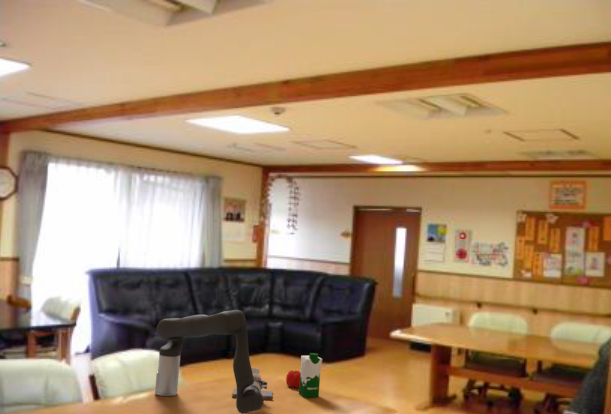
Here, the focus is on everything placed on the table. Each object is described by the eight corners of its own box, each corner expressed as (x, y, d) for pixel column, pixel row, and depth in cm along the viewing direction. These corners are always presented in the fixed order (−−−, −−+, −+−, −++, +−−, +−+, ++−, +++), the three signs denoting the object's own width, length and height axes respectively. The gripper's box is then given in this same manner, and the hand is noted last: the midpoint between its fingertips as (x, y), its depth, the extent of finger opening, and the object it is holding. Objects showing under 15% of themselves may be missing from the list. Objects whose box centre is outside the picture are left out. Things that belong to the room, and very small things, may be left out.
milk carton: (304, 398, 277) (307, 355, 278) (296, 393, 285) (299, 350, 286) (321, 397, 281) (324, 354, 281) (312, 392, 289) (315, 350, 289)
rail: (232, 397, 270) (232, 393, 270) (232, 396, 271) (232, 392, 271) (272, 400, 271) (272, 396, 271) (272, 399, 272) (272, 395, 272)
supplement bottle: (257, 397, 262) (259, 367, 268) (242, 397, 264) (245, 367, 269) (261, 400, 268) (263, 370, 274) (246, 399, 269) (249, 370, 275)
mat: (232, 395, 273) (232, 394, 273) (234, 389, 283) (234, 388, 283) (272, 398, 273) (272, 397, 274) (272, 392, 283) (272, 391, 283)
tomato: (284, 384, 300) (285, 369, 300) (301, 384, 302) (302, 369, 302) (287, 389, 291) (289, 373, 291) (305, 389, 293) (307, 374, 293)
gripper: (268, 382, 249) (269, 371, 267) (236, 380, 249) (239, 369, 266) (267, 400, 249) (267, 388, 266) (235, 398, 248) (237, 386, 266)
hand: (253, 379), depth 266 cm, fingers closed
